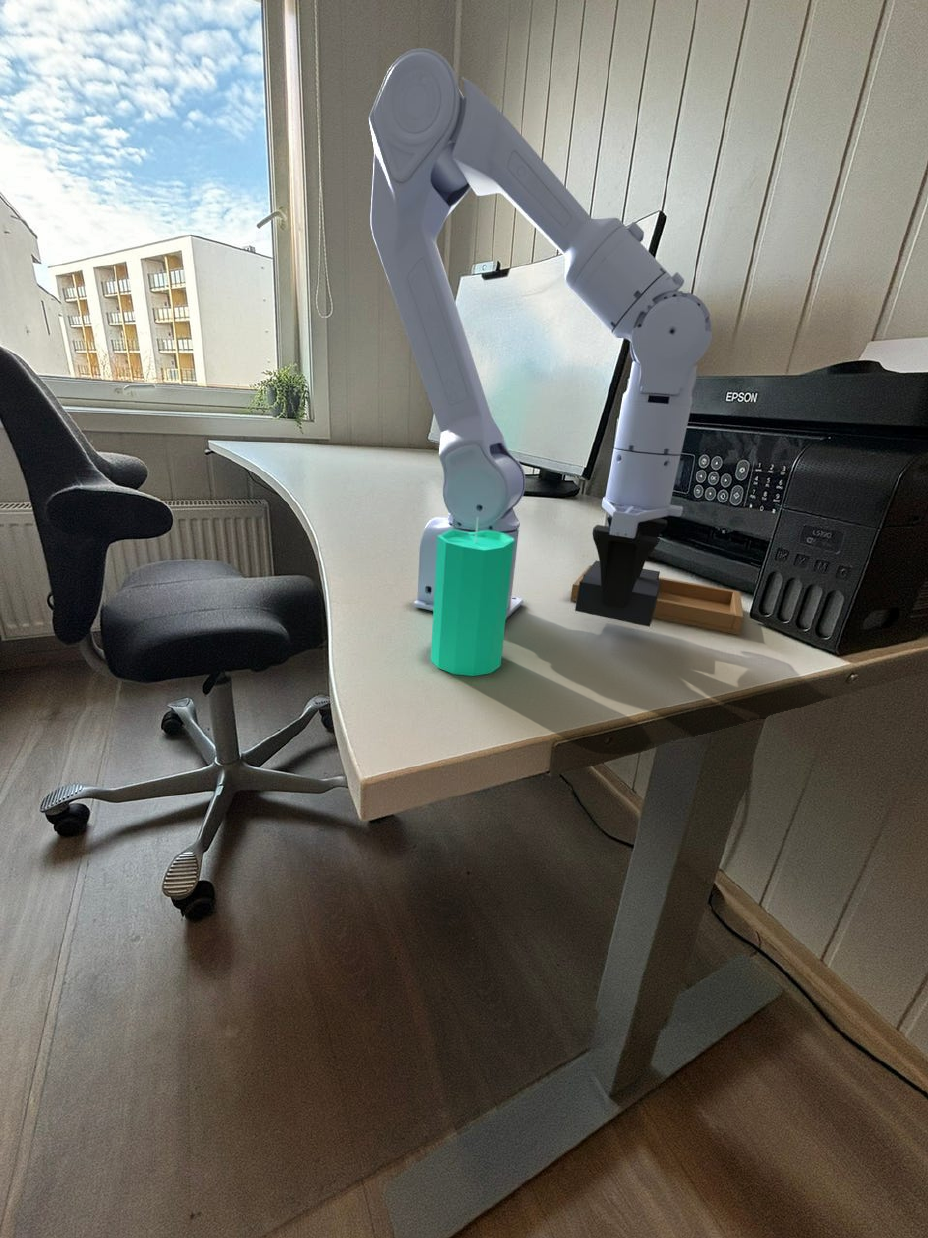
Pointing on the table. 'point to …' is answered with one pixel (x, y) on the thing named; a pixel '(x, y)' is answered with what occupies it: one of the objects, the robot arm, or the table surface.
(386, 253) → the robot arm
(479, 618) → the candle
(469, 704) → the table surface
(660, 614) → the frame
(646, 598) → the pad
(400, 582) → the table surface
